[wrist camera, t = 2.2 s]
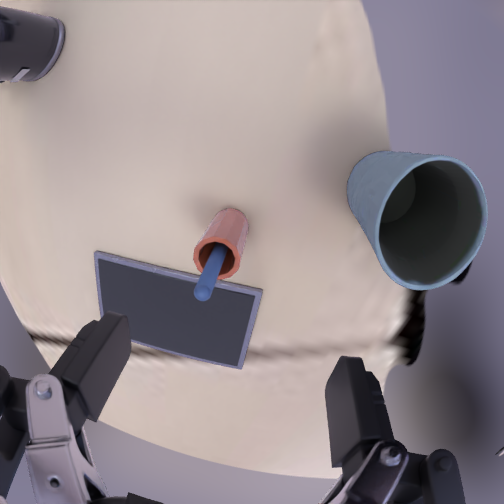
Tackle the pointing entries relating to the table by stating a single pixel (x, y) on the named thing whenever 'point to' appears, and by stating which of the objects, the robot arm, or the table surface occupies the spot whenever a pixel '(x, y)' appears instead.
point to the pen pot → (223, 241)
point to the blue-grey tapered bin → (419, 215)
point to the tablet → (178, 310)
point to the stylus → (210, 272)
